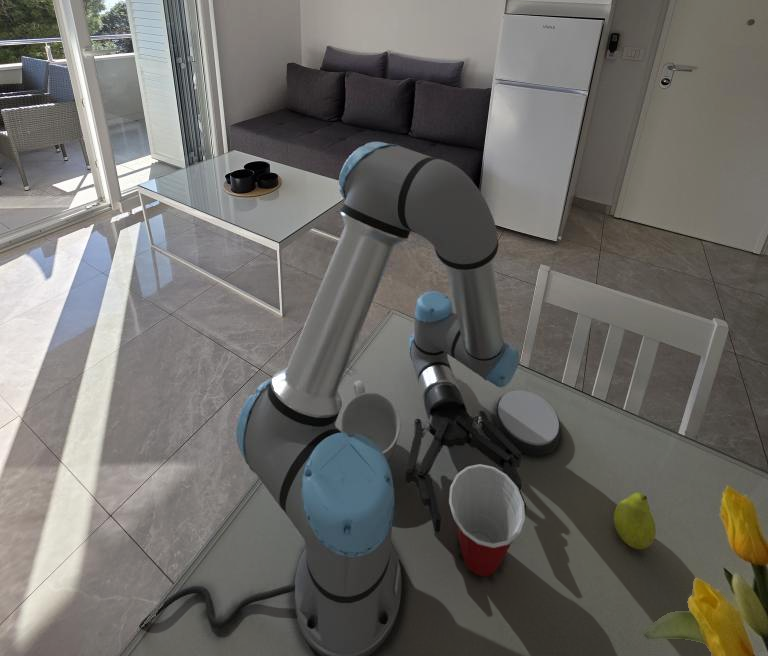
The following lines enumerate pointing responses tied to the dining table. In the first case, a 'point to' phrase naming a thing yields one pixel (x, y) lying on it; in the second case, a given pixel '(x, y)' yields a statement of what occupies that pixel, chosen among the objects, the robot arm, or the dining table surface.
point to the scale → (528, 422)
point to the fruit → (635, 521)
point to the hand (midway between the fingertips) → (481, 519)
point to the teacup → (372, 419)
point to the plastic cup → (485, 516)
